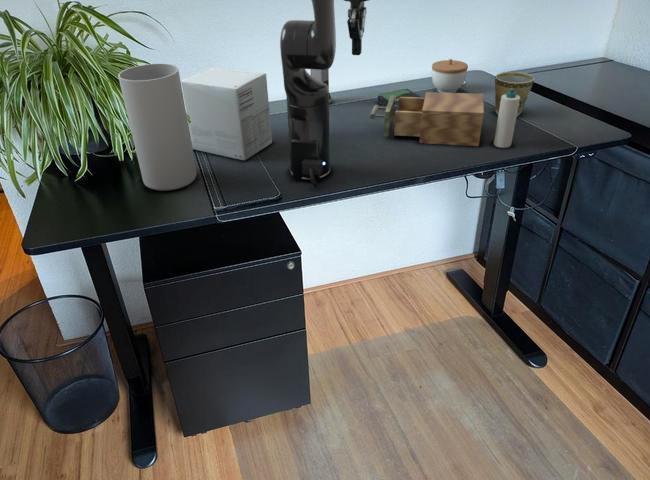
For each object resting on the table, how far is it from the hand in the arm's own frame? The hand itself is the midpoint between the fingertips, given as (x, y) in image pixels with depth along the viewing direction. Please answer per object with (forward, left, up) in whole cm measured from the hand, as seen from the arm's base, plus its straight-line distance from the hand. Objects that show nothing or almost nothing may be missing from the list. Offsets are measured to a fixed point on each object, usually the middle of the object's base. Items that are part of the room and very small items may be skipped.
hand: (356, 54), depth 137 cm
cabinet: (0, -25, -20) cm, 32 cm away
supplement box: (-16, +30, -20) cm, 39 cm away
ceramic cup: (+19, -41, -20) cm, 50 cm away
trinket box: (+36, -23, -20) cm, 47 cm away
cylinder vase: (-37, +38, -20) cm, 56 cm away
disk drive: (+19, -11, -20) cm, 30 cm away
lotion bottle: (-5, -38, -20) cm, 43 cm away
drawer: (0, -13, -19) cm, 23 cm away
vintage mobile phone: (+20, +14, -20) cm, 32 cm away
